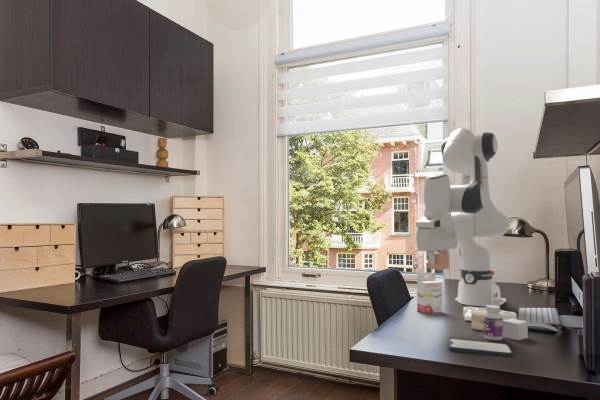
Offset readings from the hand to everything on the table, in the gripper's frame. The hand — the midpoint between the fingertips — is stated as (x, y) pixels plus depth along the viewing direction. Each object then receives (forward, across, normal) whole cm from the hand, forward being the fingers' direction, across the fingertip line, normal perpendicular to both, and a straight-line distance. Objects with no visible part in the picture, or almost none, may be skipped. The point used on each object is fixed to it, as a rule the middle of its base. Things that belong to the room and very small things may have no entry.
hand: (438, 263), depth 146 cm
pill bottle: (+21, 0, +18) cm, 28 cm away
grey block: (+21, -6, +22) cm, 31 cm away
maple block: (+21, -9, +10) cm, 25 cm away
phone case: (+22, +14, +20) cm, 33 cm away
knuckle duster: (+22, -22, +6) cm, 32 cm away
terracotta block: (+2, 0, 0) cm, 2 cm away
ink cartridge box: (+21, -19, -15) cm, 32 cm away
